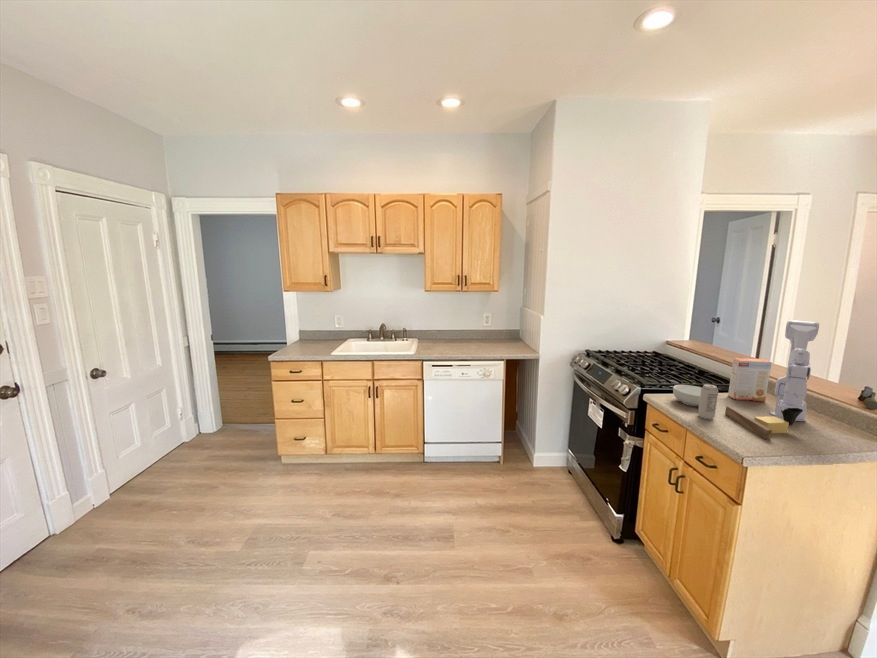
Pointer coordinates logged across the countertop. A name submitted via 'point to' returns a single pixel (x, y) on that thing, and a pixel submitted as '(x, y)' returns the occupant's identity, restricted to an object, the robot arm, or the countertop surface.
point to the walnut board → (748, 422)
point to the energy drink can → (708, 401)
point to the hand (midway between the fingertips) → (788, 424)
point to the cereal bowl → (687, 394)
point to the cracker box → (749, 379)
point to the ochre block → (773, 424)
